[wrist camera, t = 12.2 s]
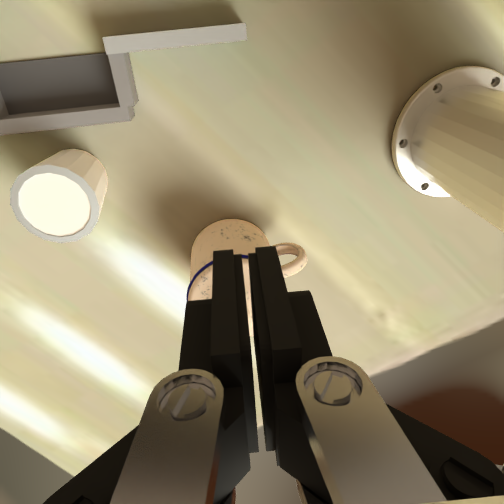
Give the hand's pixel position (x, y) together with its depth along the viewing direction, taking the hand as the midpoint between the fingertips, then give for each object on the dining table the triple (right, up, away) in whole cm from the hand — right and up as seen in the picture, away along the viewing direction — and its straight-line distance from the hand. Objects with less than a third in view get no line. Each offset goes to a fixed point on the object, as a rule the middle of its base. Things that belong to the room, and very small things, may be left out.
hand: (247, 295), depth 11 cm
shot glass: (-17, +8, +28) cm, 34 cm away
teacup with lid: (-1, +2, +34) cm, 34 cm away
